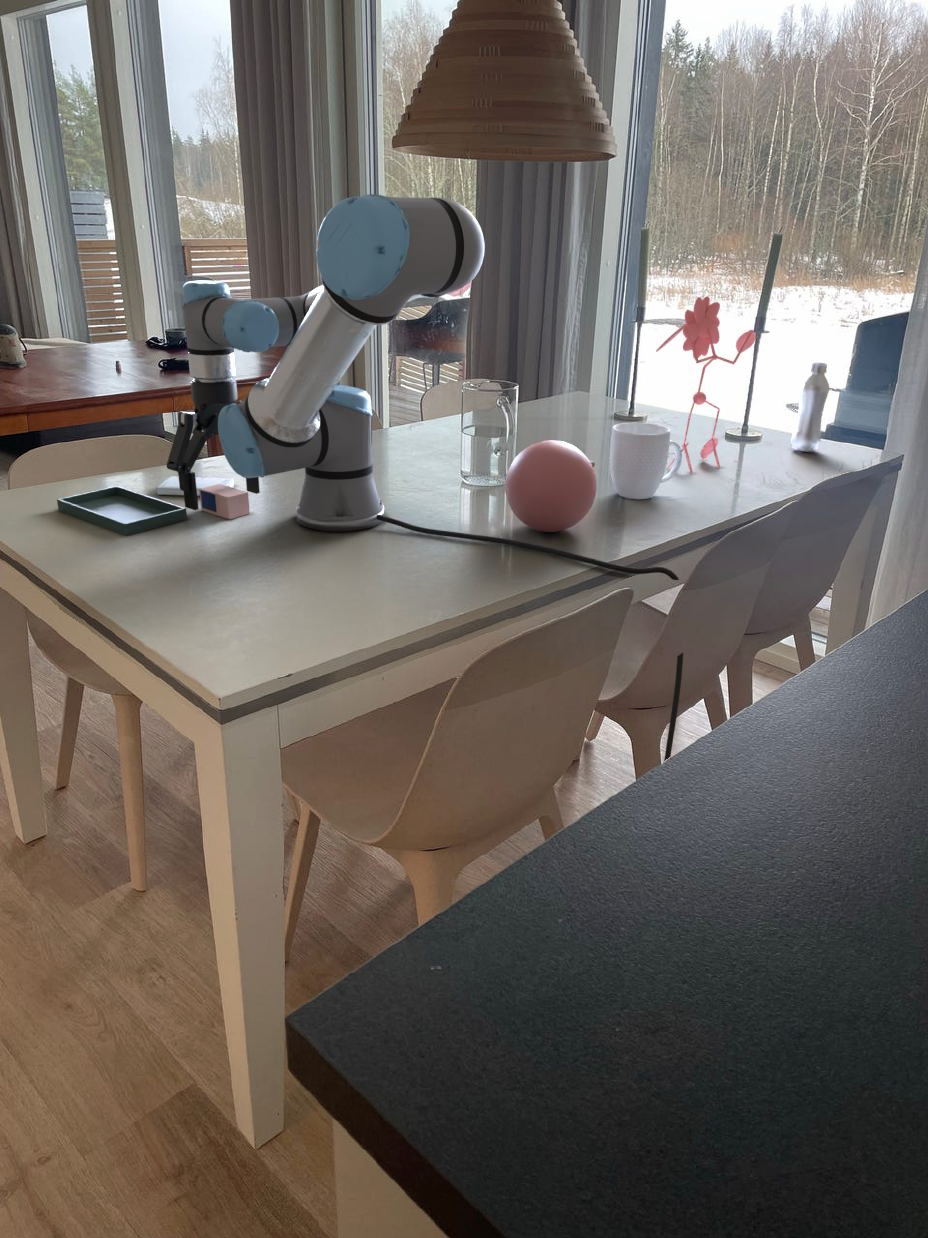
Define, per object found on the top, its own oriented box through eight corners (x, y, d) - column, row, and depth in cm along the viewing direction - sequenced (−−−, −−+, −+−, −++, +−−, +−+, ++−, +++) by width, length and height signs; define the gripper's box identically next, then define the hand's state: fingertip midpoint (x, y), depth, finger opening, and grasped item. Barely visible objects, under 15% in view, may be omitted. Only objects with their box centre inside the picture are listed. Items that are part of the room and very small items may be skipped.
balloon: (626, 525, 164) (635, 438, 158) (553, 550, 151) (559, 457, 144) (559, 505, 174) (564, 423, 167) (485, 528, 161) (488, 440, 154)
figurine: (746, 463, 206) (771, 297, 192) (668, 479, 192) (689, 301, 178) (692, 449, 218) (712, 291, 203) (615, 464, 203) (630, 295, 189)
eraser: (250, 513, 165) (248, 491, 164) (229, 519, 162) (227, 497, 160) (221, 504, 170) (219, 483, 168) (200, 510, 167) (198, 488, 165)
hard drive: (156, 487, 174) (221, 488, 173) (171, 475, 181) (233, 477, 181) (157, 495, 175) (222, 497, 174) (172, 483, 182) (234, 485, 182)
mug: (661, 483, 189) (669, 419, 184) (691, 498, 180) (700, 431, 174) (596, 489, 184) (602, 423, 179) (623, 505, 175) (630, 436, 170)
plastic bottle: (821, 450, 219) (837, 363, 211) (814, 455, 214) (830, 366, 206) (793, 446, 222) (808, 360, 214) (786, 451, 217) (800, 364, 209)
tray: (187, 519, 162) (186, 508, 161) (126, 535, 153) (125, 524, 152) (118, 496, 174) (117, 485, 173) (58, 510, 165) (56, 499, 164)
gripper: (256, 367, 168) (263, 481, 176) (135, 384, 150) (150, 511, 158) (284, 372, 164) (290, 489, 172) (163, 390, 146) (177, 520, 154)
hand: (223, 500), depth 165 cm, fingers open, 13 cm apart
